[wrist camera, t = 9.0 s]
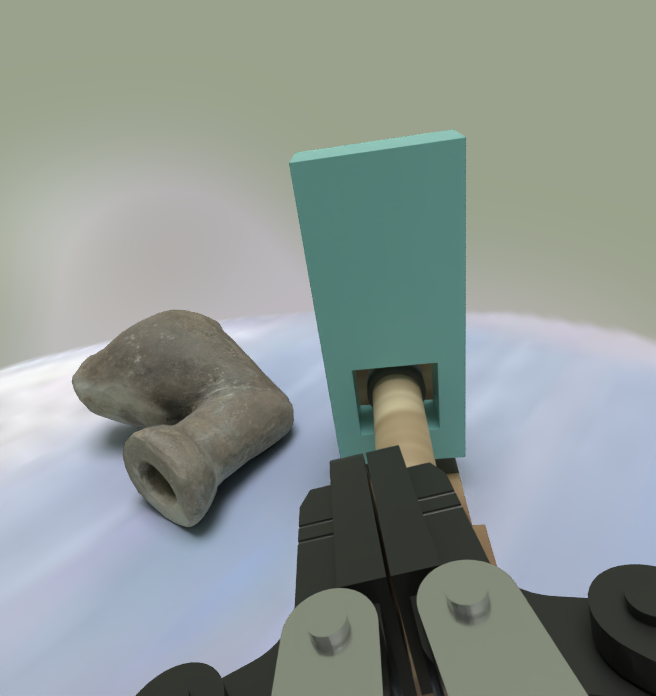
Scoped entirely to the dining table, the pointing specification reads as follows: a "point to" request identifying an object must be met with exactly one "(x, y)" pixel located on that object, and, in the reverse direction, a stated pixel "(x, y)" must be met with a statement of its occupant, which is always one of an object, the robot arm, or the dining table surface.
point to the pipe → (183, 408)
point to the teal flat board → (388, 273)
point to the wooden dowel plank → (409, 431)
